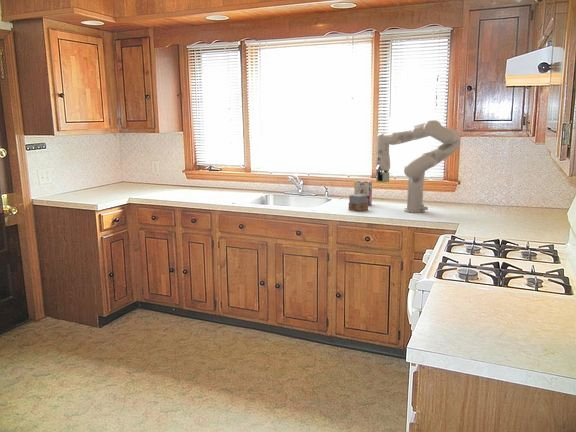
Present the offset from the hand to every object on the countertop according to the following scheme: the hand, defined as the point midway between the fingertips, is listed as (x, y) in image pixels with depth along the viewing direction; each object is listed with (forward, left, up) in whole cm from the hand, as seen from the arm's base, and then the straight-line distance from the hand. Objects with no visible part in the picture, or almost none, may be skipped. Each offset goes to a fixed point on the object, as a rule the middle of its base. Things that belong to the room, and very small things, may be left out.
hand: (382, 180), depth 331 cm
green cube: (0, 0, -1) cm, 1 cm away
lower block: (+8, +15, -19) cm, 26 cm away
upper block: (+9, +15, -14) cm, 23 cm away
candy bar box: (+17, -4, -19) cm, 26 cm away
